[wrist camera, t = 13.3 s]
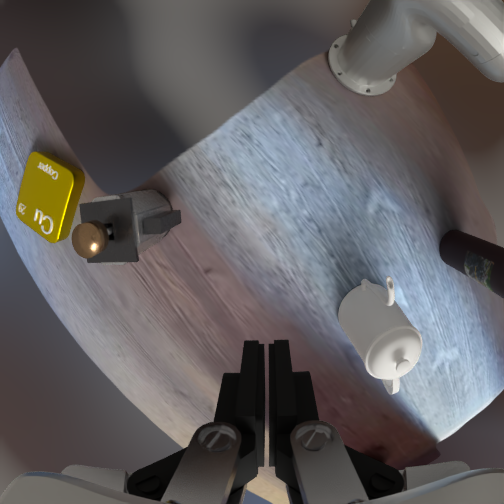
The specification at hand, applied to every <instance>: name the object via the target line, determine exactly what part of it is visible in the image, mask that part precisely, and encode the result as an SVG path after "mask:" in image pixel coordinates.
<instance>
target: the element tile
mask: <svg viewBox="0 0 504 504" xmlns="http://www.w3.org/2000/svg"><path fill="white" fill-rule="evenodd" d="M84 183H85V176H84V173H83V172H82V171H81V170H80V169H78V168H76V167H74V166H72V165H71V164H69V163H67V162H65V161H63V160H61V159H59V158H58V157H56V156H54V155H52V154H50V153H48V152H32V153H31V154H30V156H29V158H28V161H27V164H26V168H25V171H24V175H23V179H22V183H21V187H20V191H19V196H18V200H17V205H16V215H17V216H18V218H19V219H20V220H21V221H22V222H24V223H25V224H26V225H27V226H29V227H30V228H31V229H33V230H34V231H35V232H37V233H38V234H39V235H41V236H42V237H43V238H45V239H46V240H47V241H49V242H51V243H56V242H59V241H61V240H64V239H66V238H67V237H68V236H69V233H70V229H71V226H72V222H73V218H74V215H75V212H76V208H77V205H78V202H79V199H80V195H81V192H82V189H83V186H84Z"/></svg>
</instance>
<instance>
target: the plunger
mask: <svg viewBox="0 0 504 504" xmlns="http://www.w3.org/2000/svg"><path fill="white" fill-rule="evenodd" d="M112 233H113V226H111V227H109V228H106V227H105V226H104V224H103V223H101V222H100V221H97V220H91V221H88V222H85V223H82V224H79V225H77V226H76V227H75V229H74V230H73V233H72V244H73V247H74V249H75V251H76V252H77V254H78V255H80V256H81V257H83V258H91V257H93V256H95V255H97V254H99V253H101V252H103V251H104V250H105V249H106V248H107V246H108V242H109V235H110V234H112Z"/></svg>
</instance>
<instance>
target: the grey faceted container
mask: <svg viewBox="0 0 504 504" xmlns="http://www.w3.org/2000/svg"><path fill="white" fill-rule="evenodd" d="M80 214H81V224H82V223H85V222H88V221H91V220H97V221H100V222H101V223H103V224H104V226H105V227H106V228H109V227H111V226H113V233H112V234H110V235H109V242H108V246H107V248H106V249H105V250H104V251H103V252H101V253H99V254H97V255H95V256H93V257H91V258H87V262H88V263H101V264H103V265H125V264H126V263H128V262H138V261H139V258H138V255H140V254H141V253H143V252H144V251H146V250H147V249H149V248H150V247H152V246H153V245H155V244H156V243H158V242H159V241H160V240H161V239H162V238H163V237H164V236H166V235H167V233H168V232H169V231H170V229H171V228H173V227H174V226H176V225H178V224H180V223H181V212H180V210H172V206H171V204H170V202H169V200H168V199H167V198H166V197H165V196H164V195H163V194H162V193H160V192H158V191H156V190H154V189H153V190H151V189H146V190H141V191H135V192H128V193H122V194H115V195H109V196H103V197H98V198H95V199H93V200H92V202H90V203H83V204H80Z"/></svg>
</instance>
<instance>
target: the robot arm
mask: <svg viewBox="0 0 504 504" xmlns="http://www.w3.org/2000/svg"><path fill="white" fill-rule="evenodd" d="M350 23H351V27H352V29H351V30H350V32H349V33H348V34H346V35H343V36H340V37H339V38H337V39H336V40H335V41H334V42H333V44H332V45H331V47H330V49H329V52H328V62H329V66H330V69H331V71H332V73H333V75H334V76H335V77H336V79H337V80H338V81H339V82H340V83H341V84H342V85H343V86H345V87H346V88H348V89H349V90H351V91H353V92H355V93H357V94H360V95H365V96H377V95H381V94H383V93H385V92H386V91H388V90H389V89H390V88H391V87H392V86H393V85H394V83H395V80H396V73H397V72H399V71H400V70H402V69H403V68H404V67H406V66H407V65H409V64H410V63H411V62H413V61H414V60H416V59H417V58H419V57H420V56H422V55H423V54H424V53H426V52H427V51H428V50H429V49H430V48H431V47H432V45H433V44H434V41H435V38H436V31H437V32H438V33H439V34H441V35H442V36H444V37H445V38H446V39H447V40H448V41H449V42H450V43H451V44H453V45H454V46H455V47H456V48H457V49H458V50H459V51H460V52H461V53H462V54H463V55H464V56H465V57H466V58H467V59H468V60H469V61H470V62H471V63H472V64H473V65H474V66H475V67H476V68H477V69H478V70H479V71H481V73H483V74H484V75H485V76H486V77H488V78H489V79H491V80H493V81H497V82H504V3H503V2H502V1H501V0H370V1H369V3H368V5H367V6H366V8H365V10H364V11H363V13H362V15H361V16H360V17H359V19H358V21H357V20H351V21H350ZM335 47H336V48H335ZM338 74H340V75H338ZM366 91H367V92H366ZM264 448H265V359H264V344H259V340H253V341H244V347H243V355H242V363H241V371H240V373H224V374H223V378H222V383H221V388H220V393H219V398H218V403H217V408H216V412H215V417H214V422H209V423H207V424H204V425H202V426H201V427H199V428H198V429H197V430H196V432H195V433H194V435H193V437H192V439H191V441H190V443H189V445H188V447H186V448H184V449H182V450H181V451H178V452H176V453H174V454H172V455H170V456H168V457H166V458H164V459H162V460H159V461H157V462H155V463H153V464H151V465H148V466H146V467H144V468H142V469H139V470H137V471H136V472H134V473H127V472H126V470H116V469H105V468H97V467H89V466H82V465H71V466H68V467H66V468H65V469H64V470H63V471H62V473H61V474H58V473H51V472H27V473H24V474H22V475H20V476H18V477H17V478H16V479H15V480H14V481H12V482H11V483H10V485H9V486H8V487H7V488H6V489H5V491H4V492H3V494H2V495H1V496H0V504H242V502H243V499H244V495H245V492H246V488H247V483H248V482H249V481H251V480H252V479H254V478H255V477H257V474H258V467H264ZM271 466H275V474H276V477H278V478H279V479H281V480H282V481H283V482H285V483H286V490H287V494H288V498H289V502H290V504H504V469H499V468H487V469H478V470H470V468H469V466H468V465H467V464H465V463H464V462H461V461H451V462H445V463H439V464H433V465H425V466H417V467H407V468H405V470H400V471H398V470H397V469H395V468H393V467H391V466H389V465H386V464H384V463H382V462H379V461H377V460H375V459H373V458H371V457H368V456H366V455H364V454H362V453H360V452H358V451H356V450H354V449H352V448H350V447H348V446H346V445H344V444H343V442H342V440H341V437H340V435H339V433H338V431H337V430H336V428H335V427H334V426H332V425H331V424H330V423H327V422H324V421H319V417H318V412H317V406H316V401H315V396H314V391H313V386H312V381H311V376H310V372H309V371H305V372H292V365H291V357H290V349H289V341H288V340H274V344H269V467H271Z"/></svg>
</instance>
